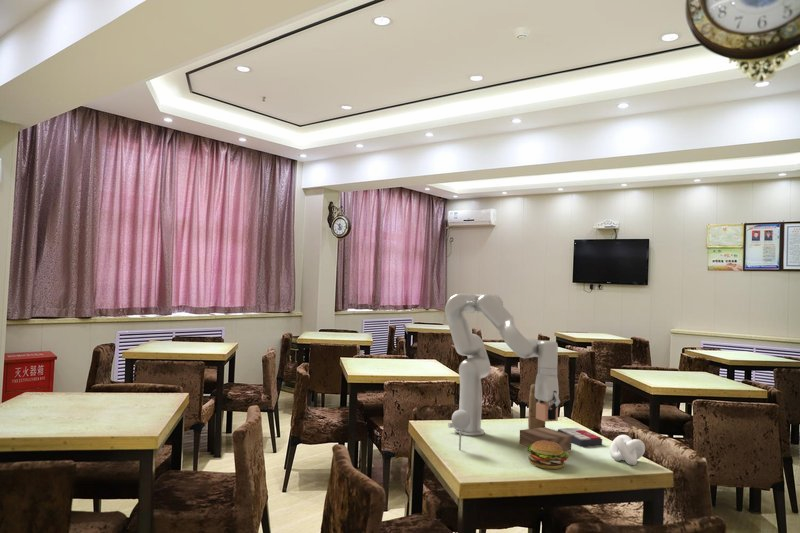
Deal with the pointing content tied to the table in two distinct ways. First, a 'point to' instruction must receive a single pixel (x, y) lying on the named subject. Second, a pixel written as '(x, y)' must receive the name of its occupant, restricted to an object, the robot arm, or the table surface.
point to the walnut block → (545, 437)
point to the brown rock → (533, 411)
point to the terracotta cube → (544, 412)
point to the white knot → (627, 449)
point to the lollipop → (460, 421)
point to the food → (547, 455)
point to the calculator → (582, 437)
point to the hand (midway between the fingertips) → (546, 417)
